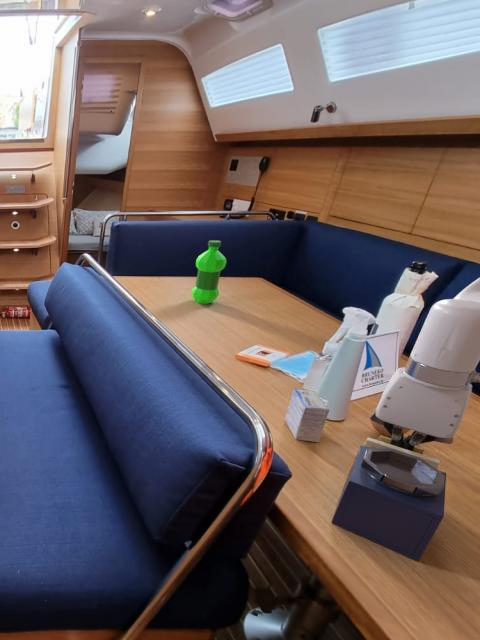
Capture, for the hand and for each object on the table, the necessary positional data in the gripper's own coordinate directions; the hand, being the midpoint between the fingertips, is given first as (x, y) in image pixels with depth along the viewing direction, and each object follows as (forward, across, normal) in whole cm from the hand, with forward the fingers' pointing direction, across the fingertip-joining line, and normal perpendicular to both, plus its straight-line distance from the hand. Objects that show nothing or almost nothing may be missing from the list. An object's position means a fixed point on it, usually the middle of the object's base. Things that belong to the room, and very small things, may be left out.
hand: (396, 456), depth 78 cm
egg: (+5, +2, -17) cm, 18 cm away
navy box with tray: (+5, 0, +14) cm, 15 cm away
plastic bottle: (+5, +62, -81) cm, 103 cm away
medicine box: (+5, +15, -6) cm, 17 cm away
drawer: (+4, 0, +6) cm, 7 cm away
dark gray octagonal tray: (-4, 0, +14) cm, 15 cm away
